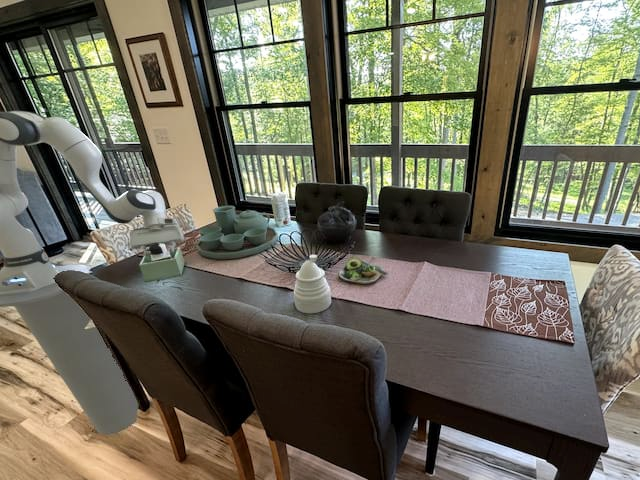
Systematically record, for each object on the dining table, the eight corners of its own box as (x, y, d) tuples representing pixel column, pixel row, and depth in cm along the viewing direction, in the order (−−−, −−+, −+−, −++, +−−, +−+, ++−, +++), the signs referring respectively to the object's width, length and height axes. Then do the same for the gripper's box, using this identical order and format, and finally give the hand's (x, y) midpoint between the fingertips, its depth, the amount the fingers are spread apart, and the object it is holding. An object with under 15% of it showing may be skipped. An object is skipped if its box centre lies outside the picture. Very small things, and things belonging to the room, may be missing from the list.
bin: (145, 281, 131) (138, 265, 128) (152, 268, 143) (146, 252, 139) (181, 275, 135) (175, 258, 132) (184, 262, 147) (179, 247, 143)
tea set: (180, 256, 153) (170, 224, 146) (233, 228, 187) (227, 201, 179) (248, 264, 142) (240, 230, 134) (292, 233, 175) (287, 204, 168)
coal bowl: (333, 250, 152) (330, 213, 143) (312, 239, 166) (308, 205, 157) (364, 239, 163) (363, 204, 154) (342, 230, 177) (340, 197, 168)
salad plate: (393, 268, 133) (393, 259, 130) (379, 289, 118) (379, 278, 116) (352, 262, 140) (351, 253, 138) (334, 281, 125) (333, 271, 123)
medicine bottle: (157, 275, 134) (147, 249, 129) (156, 269, 139) (146, 244, 134) (175, 270, 138) (166, 245, 132) (173, 264, 143) (165, 240, 137)
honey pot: (323, 290, 119) (318, 246, 111) (337, 306, 109) (333, 260, 101) (290, 299, 114) (283, 255, 106) (302, 317, 104) (295, 269, 96)
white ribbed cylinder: (292, 224, 189) (287, 193, 180) (278, 227, 185) (273, 195, 176) (287, 221, 195) (283, 191, 186) (274, 224, 191) (269, 193, 182)
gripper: (125, 225, 132) (128, 255, 129) (179, 218, 138) (182, 246, 135) (132, 232, 138) (135, 260, 134) (183, 225, 144) (187, 252, 140)
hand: (159, 253), depth 135 cm, fingers open, 8 cm apart
